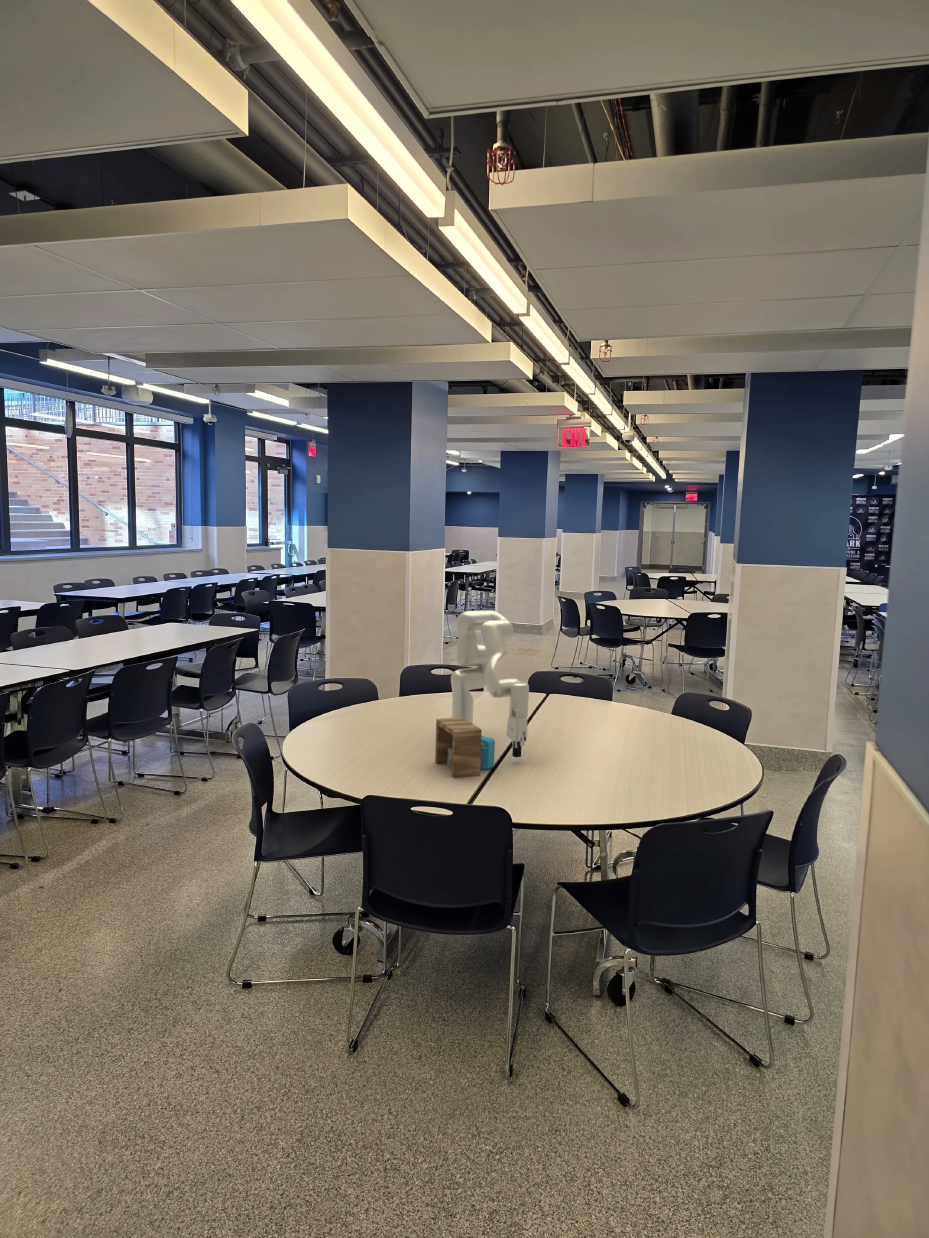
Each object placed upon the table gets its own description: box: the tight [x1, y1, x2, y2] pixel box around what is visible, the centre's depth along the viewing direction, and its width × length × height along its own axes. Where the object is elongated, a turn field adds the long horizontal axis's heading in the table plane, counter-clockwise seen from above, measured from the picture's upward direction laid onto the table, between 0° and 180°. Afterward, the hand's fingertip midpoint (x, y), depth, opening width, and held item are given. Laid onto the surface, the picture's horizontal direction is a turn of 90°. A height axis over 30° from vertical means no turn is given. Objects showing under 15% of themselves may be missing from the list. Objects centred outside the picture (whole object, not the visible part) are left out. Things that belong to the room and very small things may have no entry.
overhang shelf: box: [434, 717, 483, 779], centre depth 289 cm, size 20×11×18 cm, turn 23°
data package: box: [480, 735, 496, 771], centre depth 293 cm, size 12×4×12 cm, turn 55°
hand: (516, 756), depth 299 cm, fingers closed
